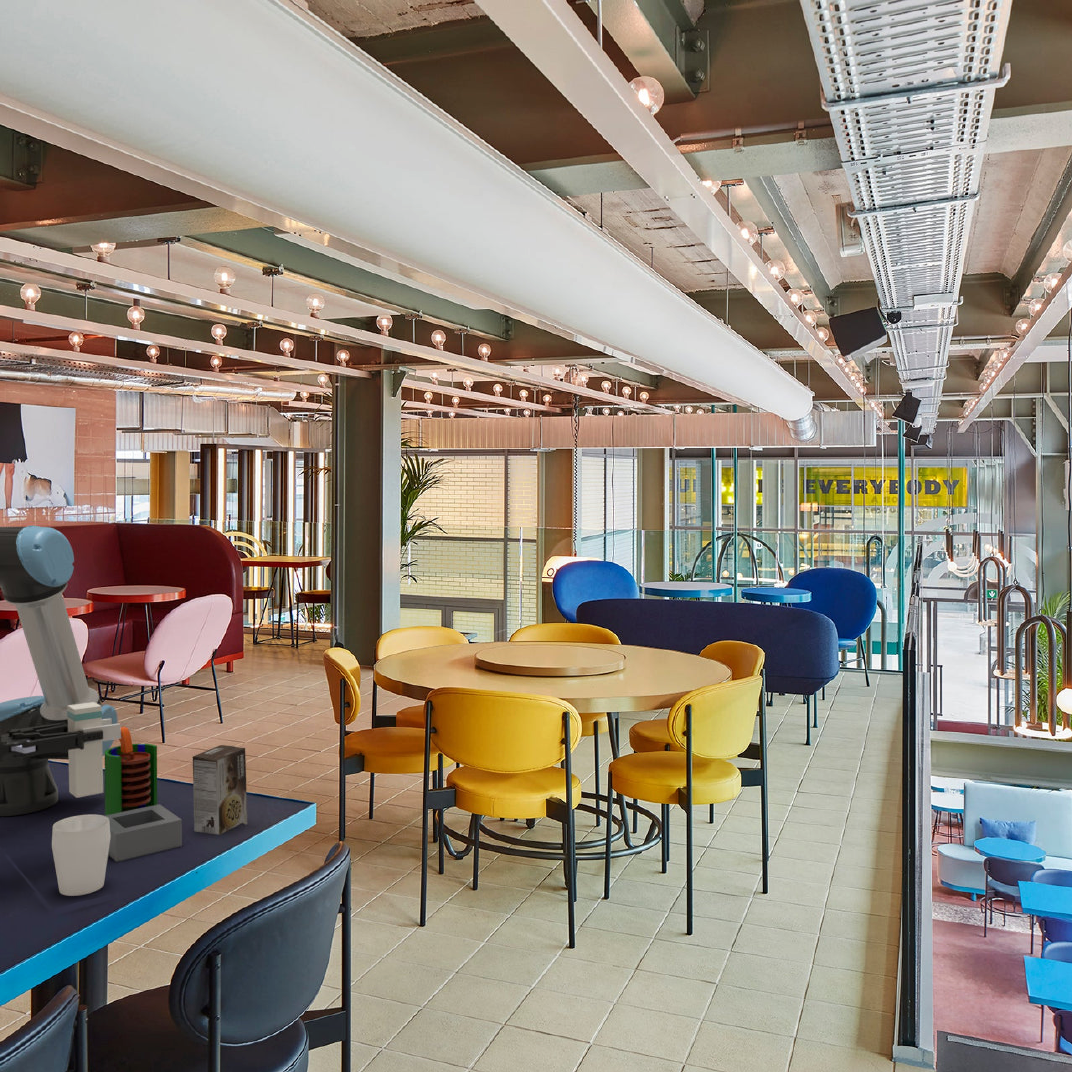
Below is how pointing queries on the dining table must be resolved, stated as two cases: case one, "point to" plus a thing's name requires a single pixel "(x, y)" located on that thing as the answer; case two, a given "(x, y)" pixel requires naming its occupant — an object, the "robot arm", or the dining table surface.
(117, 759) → the motor
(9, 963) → the dining table surface
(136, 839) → the socket
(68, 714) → the plug
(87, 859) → the cup
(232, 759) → the coffee box
